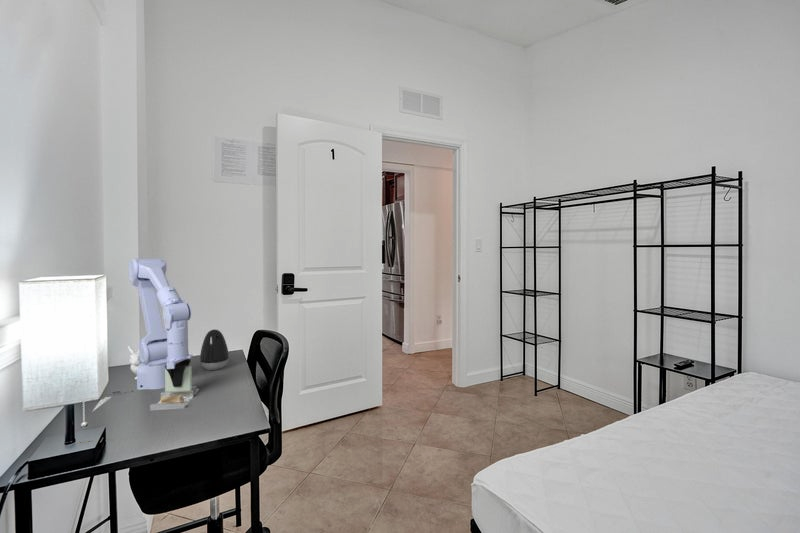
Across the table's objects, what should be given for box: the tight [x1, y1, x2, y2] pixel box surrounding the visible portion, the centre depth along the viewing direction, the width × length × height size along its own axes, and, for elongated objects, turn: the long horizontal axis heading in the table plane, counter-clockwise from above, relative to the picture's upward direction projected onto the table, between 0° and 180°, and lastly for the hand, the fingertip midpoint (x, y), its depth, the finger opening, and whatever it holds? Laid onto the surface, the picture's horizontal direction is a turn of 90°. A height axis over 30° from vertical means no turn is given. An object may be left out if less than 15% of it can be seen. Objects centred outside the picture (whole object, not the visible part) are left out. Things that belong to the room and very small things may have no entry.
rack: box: [149, 385, 200, 411], centre depth 126 cm, size 9×16×3 cm, turn 12°
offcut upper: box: [160, 395, 182, 403], centre depth 121 cm, size 5×2×1 cm, turn 102°
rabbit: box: [127, 345, 143, 380], centre depth 149 cm, size 12×9×12 cm
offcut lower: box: [157, 398, 184, 404], centre depth 121 cm, size 6×3×1 cm, turn 102°
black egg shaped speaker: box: [199, 328, 230, 371], centre depth 159 cm, size 10×10×15 cm
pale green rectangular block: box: [164, 365, 193, 392], centre depth 128 cm, size 7×2×9 cm, turn 102°
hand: (178, 385), depth 128 cm, fingers closed on pale green rectangular block, 2 cm apart
